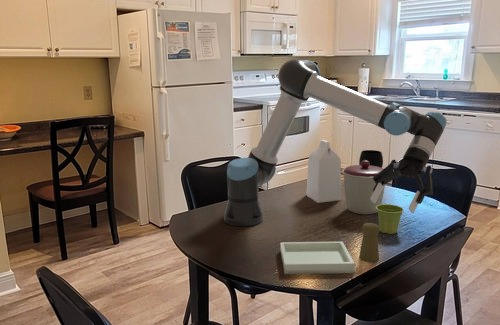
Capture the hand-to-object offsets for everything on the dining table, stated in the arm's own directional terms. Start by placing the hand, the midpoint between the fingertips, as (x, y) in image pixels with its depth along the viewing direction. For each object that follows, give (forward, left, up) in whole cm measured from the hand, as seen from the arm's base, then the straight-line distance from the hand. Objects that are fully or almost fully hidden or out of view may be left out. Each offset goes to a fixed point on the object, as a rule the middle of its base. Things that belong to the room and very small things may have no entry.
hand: (391, 205), depth 138 cm
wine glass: (+11, +61, -15) cm, 64 cm away
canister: (+2, +38, -15) cm, 41 cm away
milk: (-11, +57, -15) cm, 60 cm away
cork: (-8, -7, -15) cm, 18 cm away
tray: (-25, -9, -14) cm, 30 cm away
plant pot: (+5, +15, -15) cm, 22 cm away
